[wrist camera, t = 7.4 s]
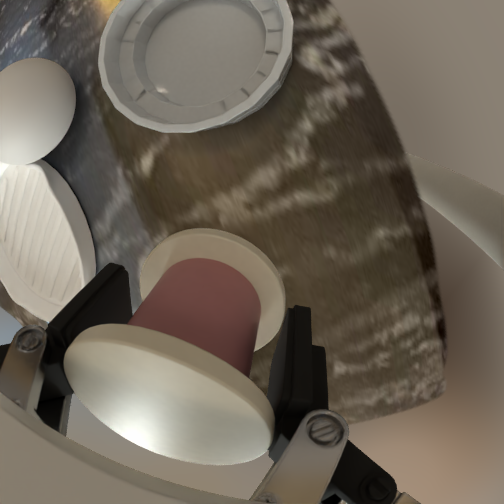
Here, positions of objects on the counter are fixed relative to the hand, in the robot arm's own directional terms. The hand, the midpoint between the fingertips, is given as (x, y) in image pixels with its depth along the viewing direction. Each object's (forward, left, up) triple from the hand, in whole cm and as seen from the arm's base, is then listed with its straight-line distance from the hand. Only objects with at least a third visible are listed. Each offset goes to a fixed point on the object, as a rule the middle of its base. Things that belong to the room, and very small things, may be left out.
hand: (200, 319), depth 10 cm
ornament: (+23, +5, -16) cm, 28 cm away
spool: (0, 0, -2) cm, 2 cm away
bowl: (+12, -7, -16) cm, 21 cm away
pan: (+12, +22, -16) cm, 30 cm away
